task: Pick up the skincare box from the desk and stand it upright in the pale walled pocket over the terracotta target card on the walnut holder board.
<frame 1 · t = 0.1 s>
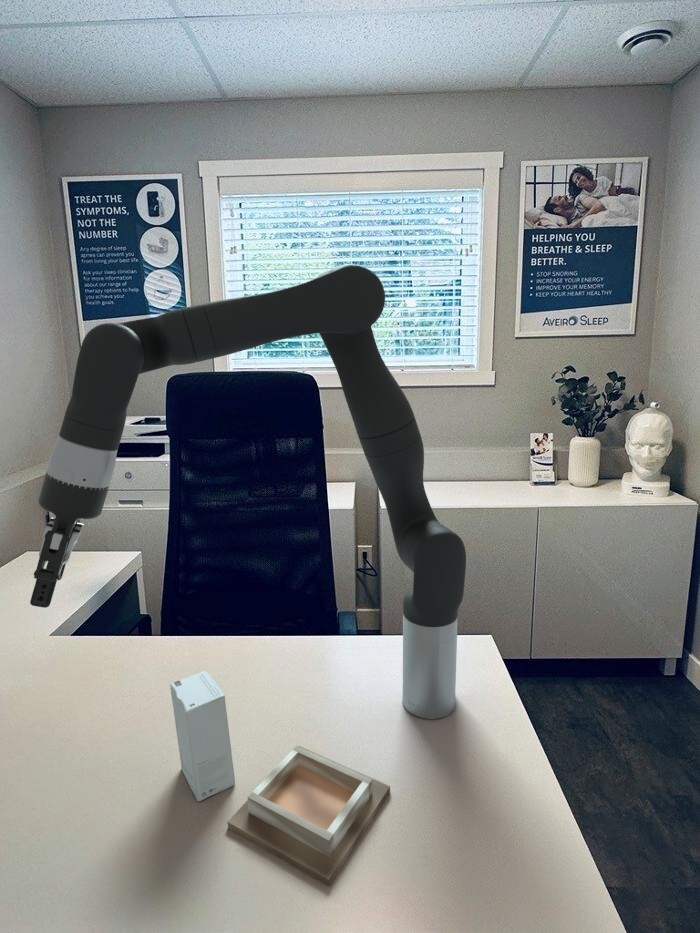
hand: (46, 591, 72), 31 cm above the table, tool tilted 20°, fingers open, 8 cm apart
skincare box: (206, 777, 82), on the table
holder board: (311, 809, 76), on the table
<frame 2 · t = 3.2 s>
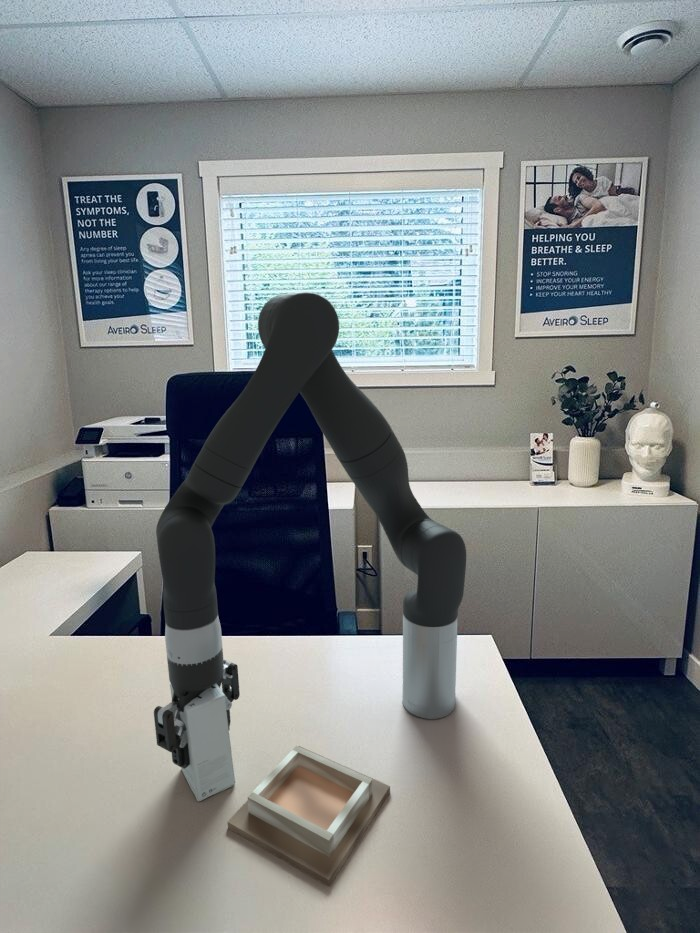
hand: (203, 747, 81), 5 cm above the table, tool pointing down, fingers closed on skincare box, 7 cm apart
skincare box: (206, 777, 82), on the table, touching gripper
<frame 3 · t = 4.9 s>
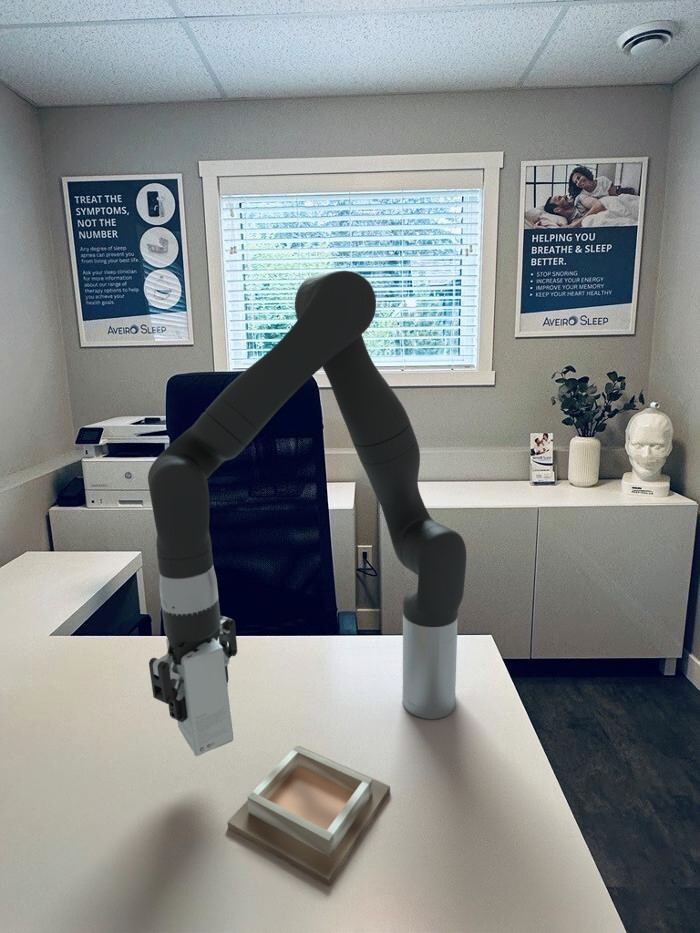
hand: (201, 702, 79), 12 cm above the table, tool pointing down, fingers closed on skincare box, 7 cm apart
skincare box: (204, 734, 80), point 7 cm above the table, touching gripper
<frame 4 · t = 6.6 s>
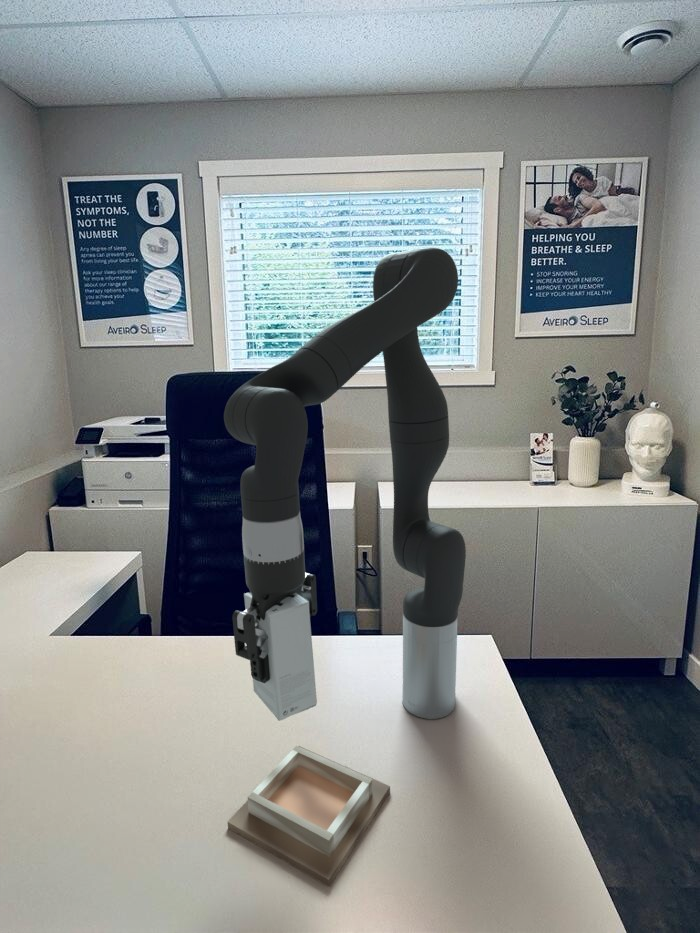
hand: (281, 663, 72), 21 cm above the table, tool pointing down, fingers closed on skincare box, 7 cm apart
skincare box: (282, 699, 74), point 16 cm above the table, touching gripper
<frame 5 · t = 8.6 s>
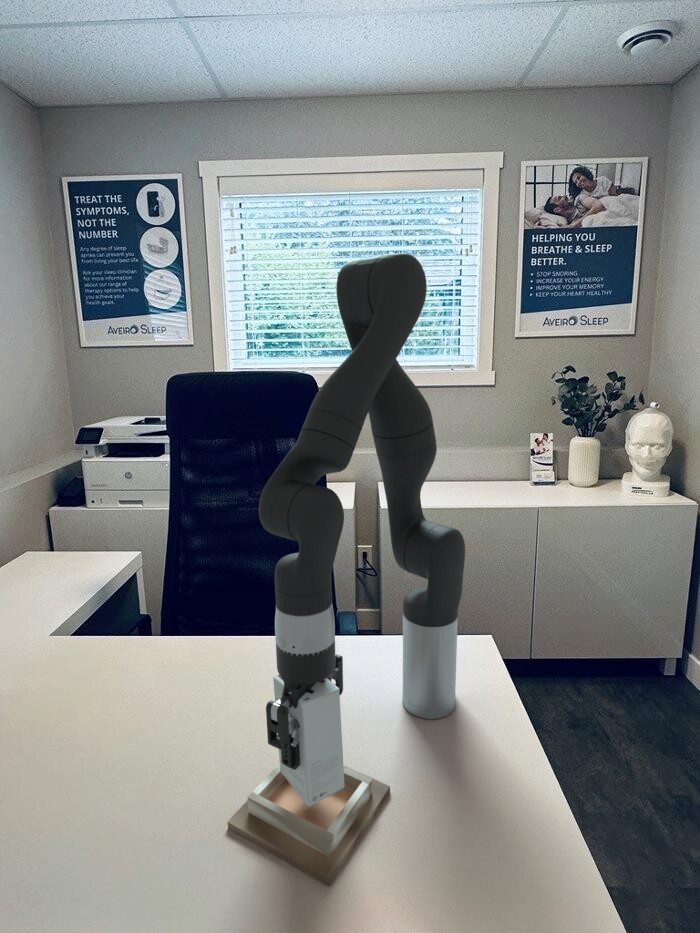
hand: (309, 746, 73), 10 cm above the table, tool pointing down, fingers closed on skincare box, 7 cm apart
skincare box: (309, 780, 75), point 5 cm above the table, touching gripper
when the fingers open (7 cm above the table, at t = 10.1 s): skincare box drops 1 cm, resting on holder board.
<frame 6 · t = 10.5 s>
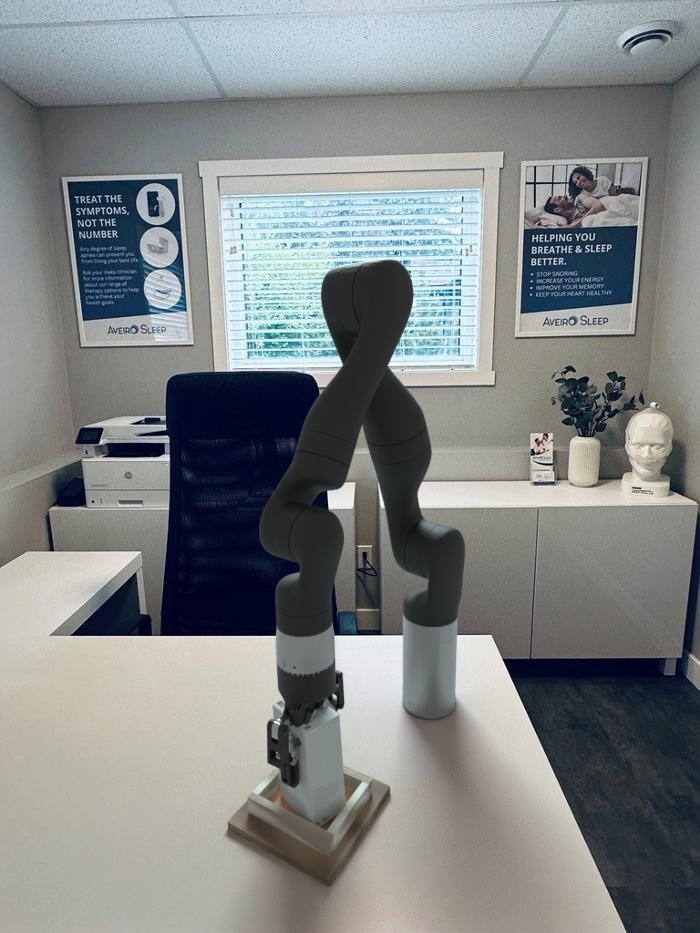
hand: (310, 762, 74), 8 cm above the table, tool pointing down, fingers open, 8 cm apart
skincare box: (311, 804, 75), point 1 cm above the table, touching holder board
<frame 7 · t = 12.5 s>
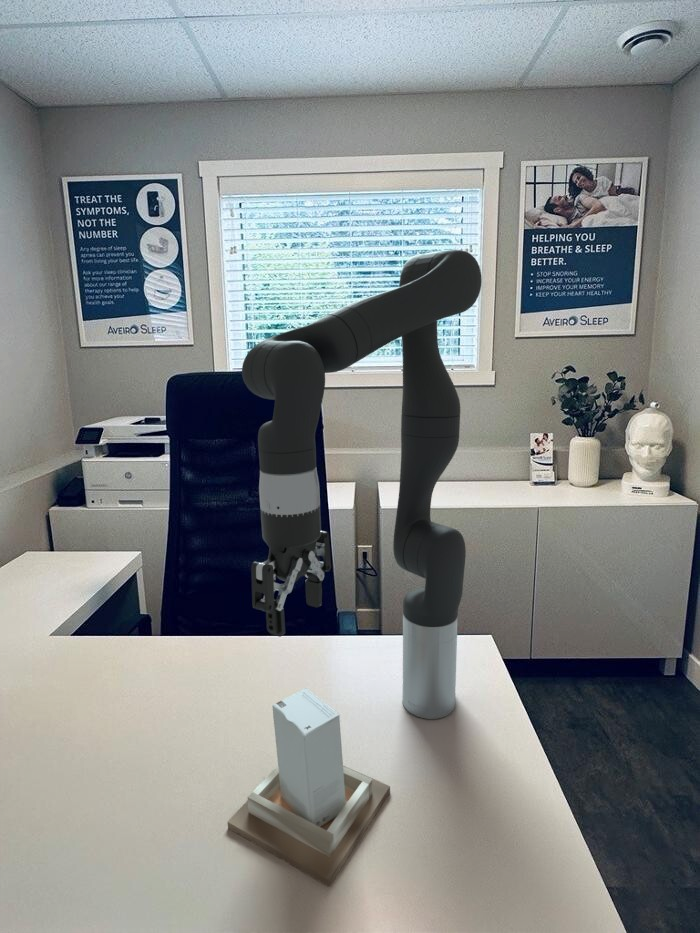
hand: (296, 619, 73), 27 cm above the table, tool pointing down, fingers open, 8 cm apart
nothing on the table moved.
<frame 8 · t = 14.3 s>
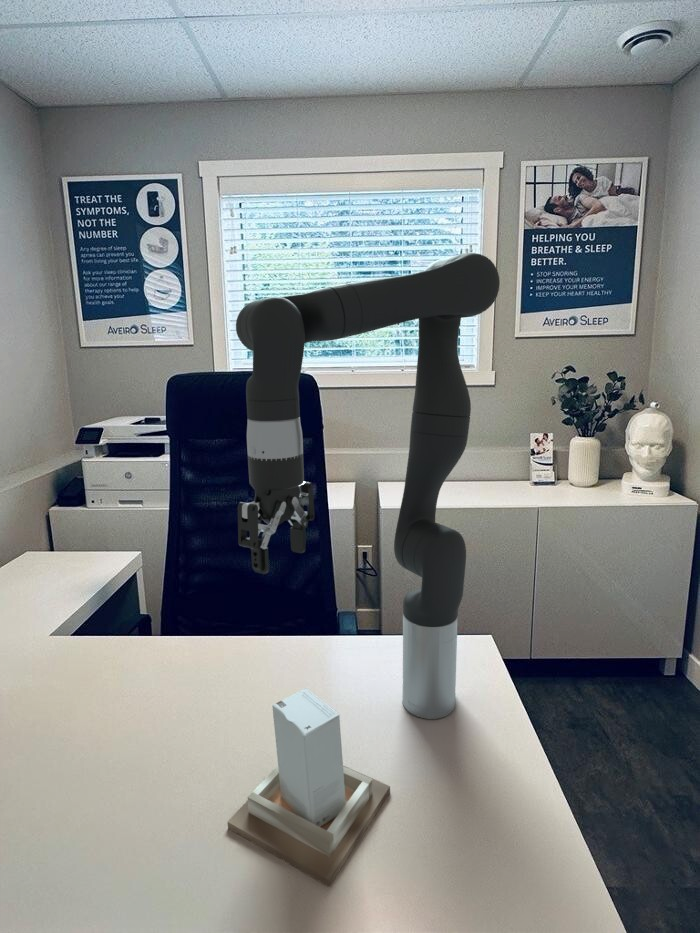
hand: (280, 561, 79), 32 cm above the table, tool pointing down, fingers open, 8 cm apart
nothing on the table moved.
at the end: skincare box 0.1 cm off-centre on the holder board, point 0.9 cm above the holder board's base; skincare box tilted 0°; the gripper is holding nothing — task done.
